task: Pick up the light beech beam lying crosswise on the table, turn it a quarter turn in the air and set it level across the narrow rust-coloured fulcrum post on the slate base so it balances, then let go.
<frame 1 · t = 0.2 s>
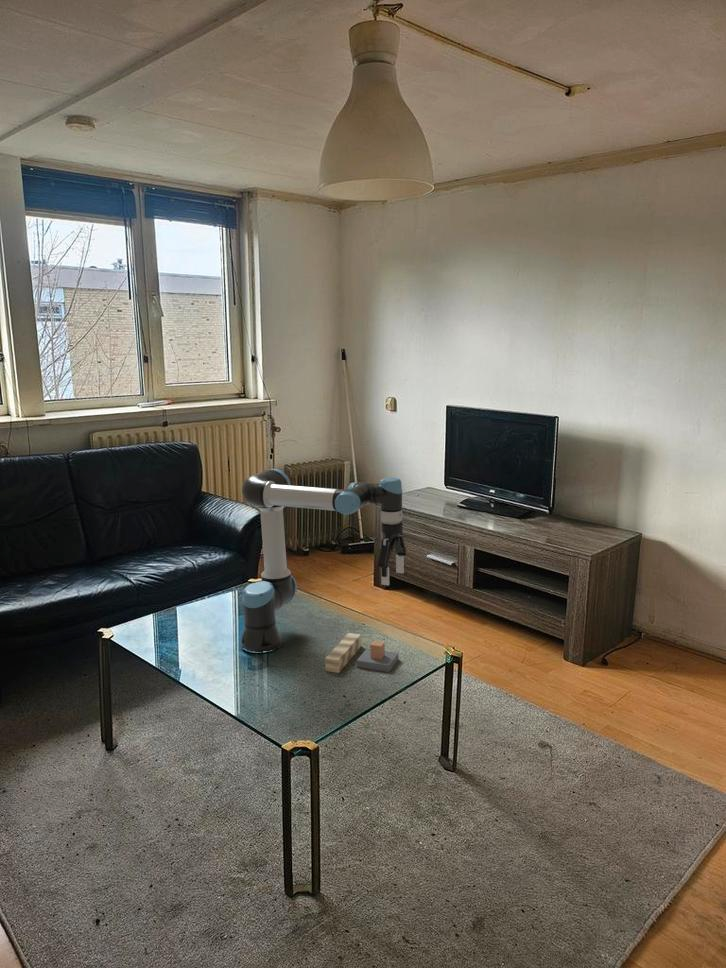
hand: (392, 578, 247), 27 cm above the table, fingers open, 13 cm apart
fulcrum: (377, 663, 242), on the table
beam: (344, 658, 247), on the table
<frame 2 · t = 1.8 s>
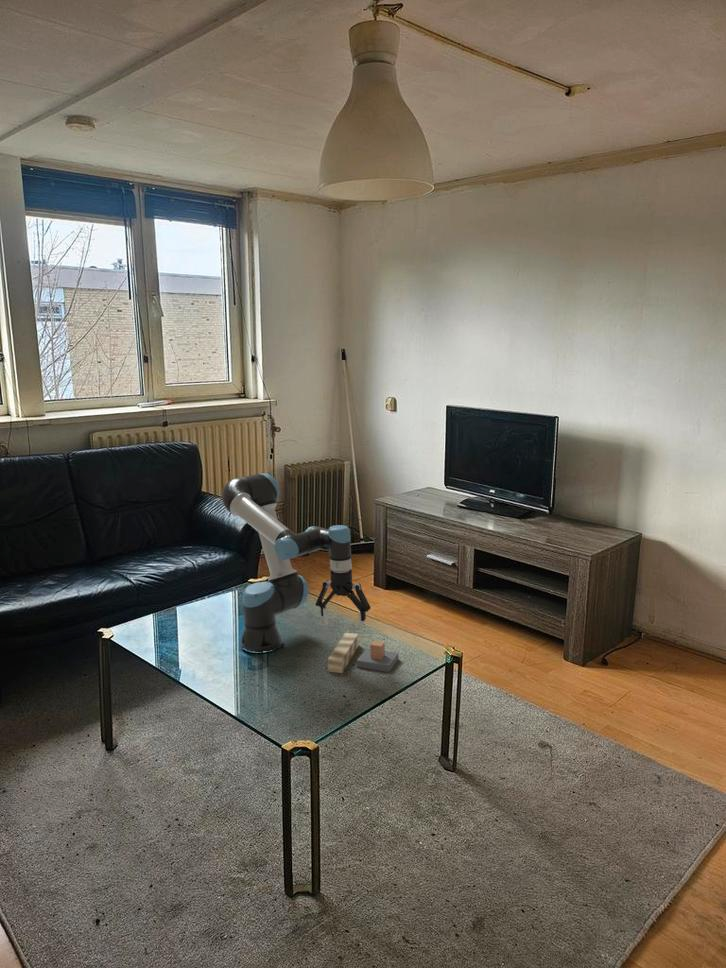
hand: (343, 627, 244), 12 cm above the table, fingers open, 13 cm apart
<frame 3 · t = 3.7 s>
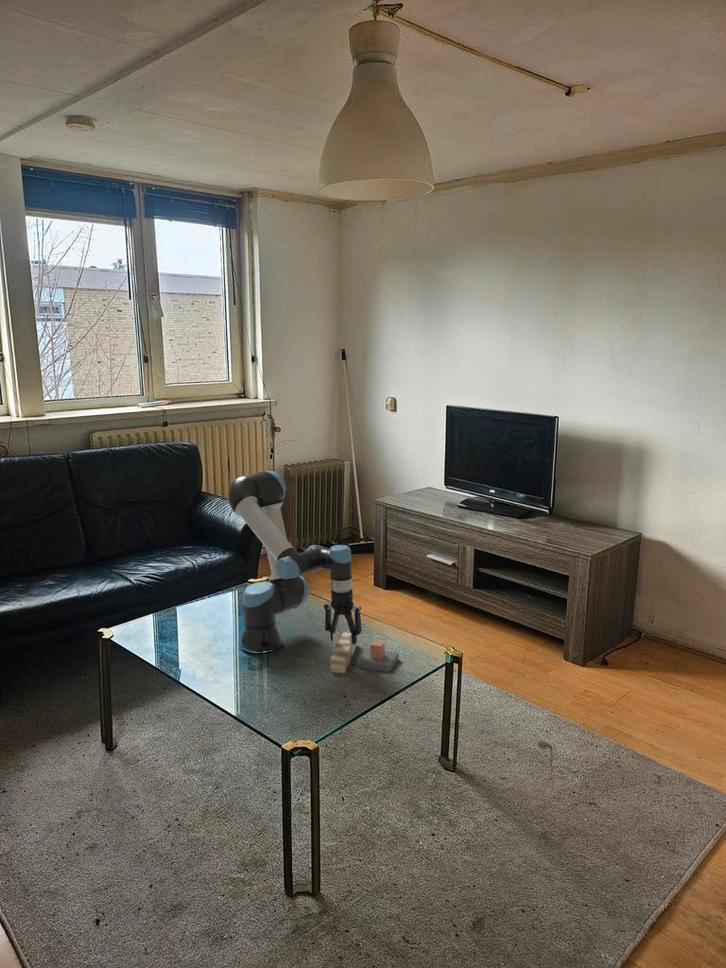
hand: (344, 650, 246), 3 cm above the table, fingers closed on beam, 6 cm apart
beam: (344, 658, 246), on the table, touching gripper
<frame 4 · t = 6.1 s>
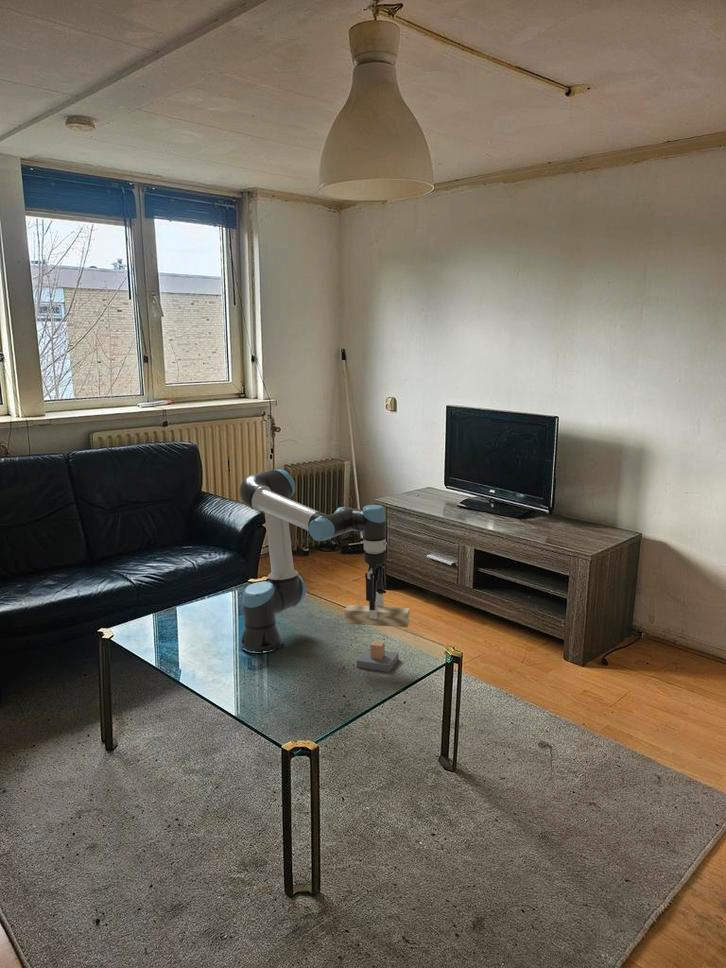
hand: (376, 614, 238), 18 cm above the table, fingers closed on beam, 6 cm apart
beam: (377, 622, 239), point 15 cm above the table, touching gripper
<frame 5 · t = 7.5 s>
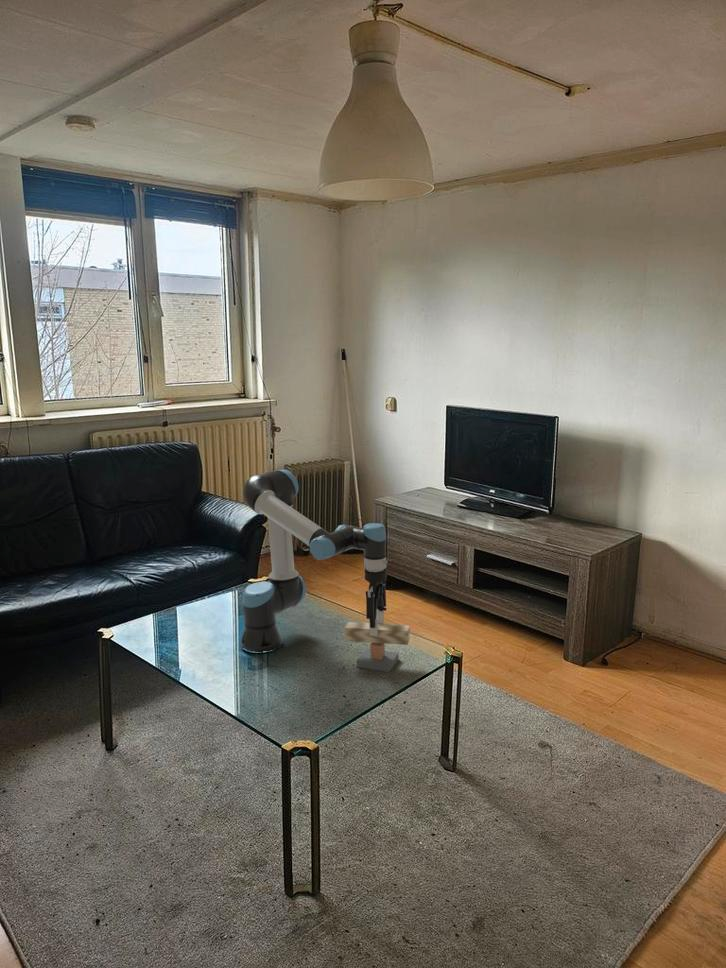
hand: (377, 631, 239), 12 cm above the table, fingers closed on beam, 6 cm apart
beam: (377, 639, 240), point 9 cm above the table, touching gripper
when the fingers open (12 cm above the table, at t = 8.5 s): beam drops 1 cm, resting on fulcrum.
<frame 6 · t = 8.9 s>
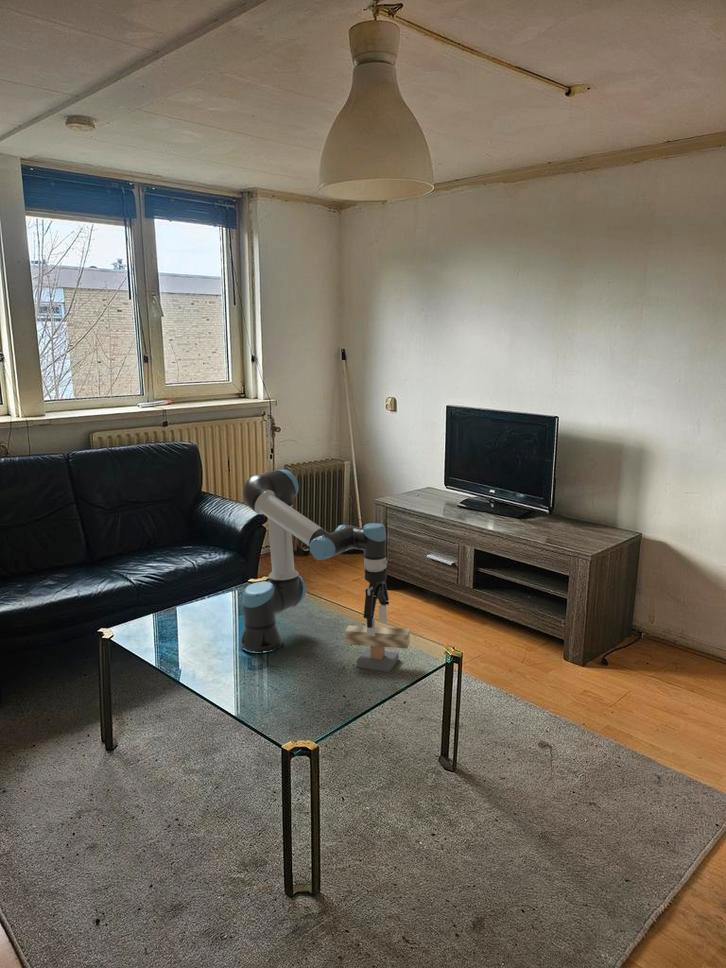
hand: (377, 628, 239), 13 cm above the table, fingers open, 11 cm apart
beam: (377, 643, 240), point 7 cm above the table, touching fulcrum
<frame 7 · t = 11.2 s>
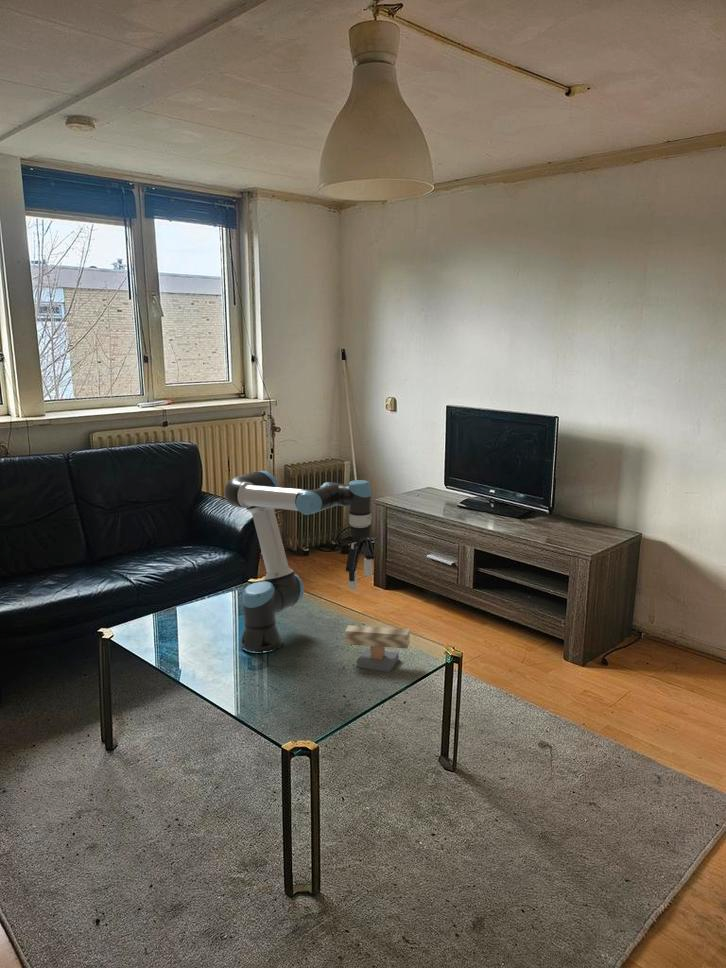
hand: (360, 582, 243), 28 cm above the table, fingers open, 13 cm apart
nothing on the table moved.
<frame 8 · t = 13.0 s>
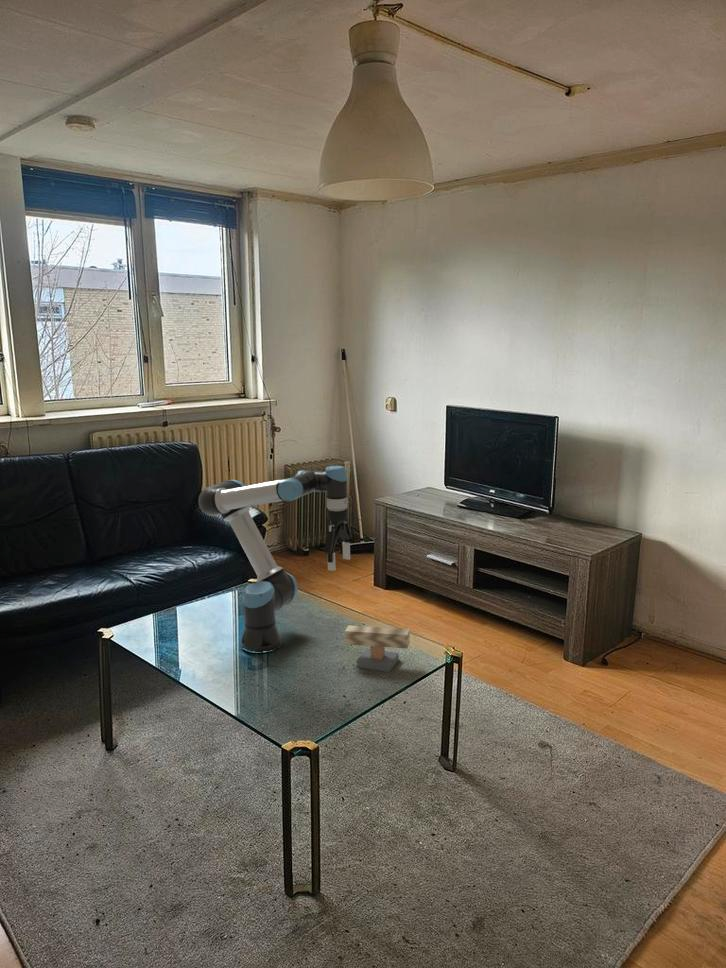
hand: (339, 564, 253), 31 cm above the table, fingers open, 13 cm apart
nothing on the table moved.
at the end: beam 0.0 cm off-centre on the fulcrum, point 7.5 cm above the fulcrum's base; beam tilted 0°; beam touching fulcrum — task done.
